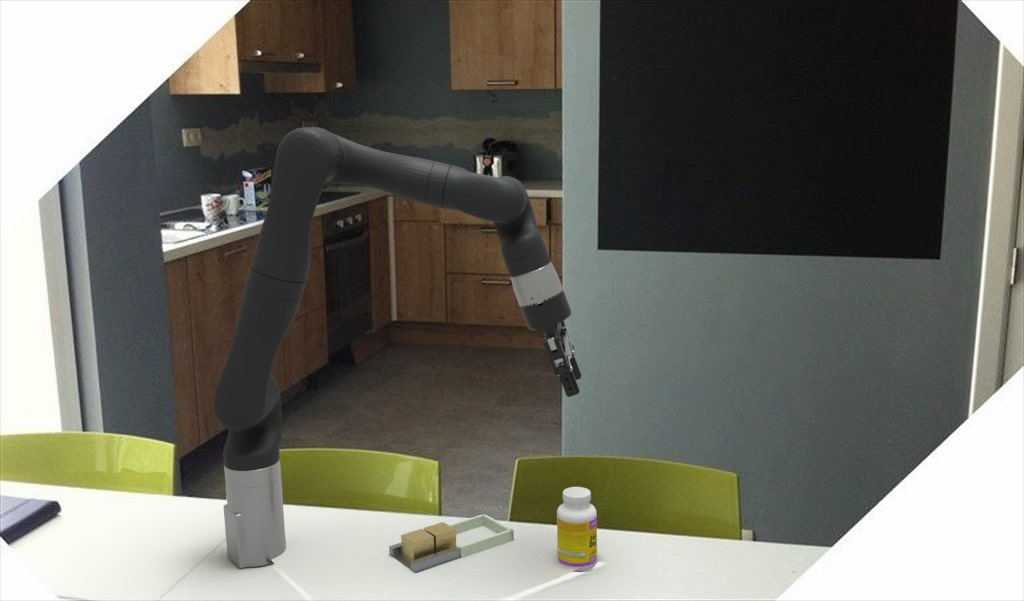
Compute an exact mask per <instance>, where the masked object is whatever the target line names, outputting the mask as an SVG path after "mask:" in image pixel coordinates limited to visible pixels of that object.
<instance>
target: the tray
mask: <svg viewBox="0 0 1024 601" xmlns="http://www.w3.org/2000/svg"><path fill="white" fill-rule="evenodd" d="M448 525H449V526H451V527H452V528H454V529H456V535H458V534H461V533H463V532H466V531H470V530H473V529H476V528H479V527H482V526H485V528H488V529H490V530H492V531H493V532H495V533H496V534H495V533H494V534H492V535H489V536H485V537H483V538H479V539H478V540H474V541H470V542H467V543H465V544H462V545H459V546H458V547H459V548H460V555H461V557H462V558H466V557H469V556H471V555H474V554H477V553H479V552H481V551H486V550H488V549H491V548H494V547H496V546H500V545H503V544H506V543H509V542H511V541H515V539H514V538H515V536H514V531H515V530H514V529H512V528H511V527H508V526H507V525H505V524H503V523H502V522H500V521H499V520H496V519H495V518H493V517H491V516H489V515H487V514H485V513H482V514H480V515H477V516H473V517H470V518H467V519H463V520H461V521H457V522H454V523H450V524H448Z"/></svg>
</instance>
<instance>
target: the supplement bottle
mask: <svg viewBox="0 0 1024 601" xmlns="http://www.w3.org/2000/svg"><path fill="white" fill-rule="evenodd" d="M591 500H592V493H591V490H590V489H589V488H586V487H581V486H570V487H567V488H565V489H563V491H562V501H563V502H562V504H560V505H559V506H558V507H557V510H556V538H557V539H556V541H557V542H556V543H557V545H556V547H557V548H556V551H557V553H556V556H557V561H558V564H561V565H562V566H564V567H567V568H572V569H575V570H574V572H575V573H578V572H579V573H580V572H586V571H590V570H591V569H593V568H594V567H596V565H597V560H598V538H597V537H598V536H597V535H598V534H597V533H598V532H597V531H598V528H597V527H598V526H597V525H598V522H597V521H598V515H597V514H598V513H597V512H598V511H597V509H596V507H595V506H594V505H593V504H592V503H590V502H591Z"/></svg>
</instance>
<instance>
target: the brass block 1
mask: <svg viewBox="0 0 1024 601" xmlns="http://www.w3.org/2000/svg"><path fill="white" fill-rule="evenodd" d="M400 538H401V540H400V541H401V542H400V543H402V557H403V558H404V559H406V560H407V561H408V562H410V563H411V561H413V560H416V559H419V558H422V557H425V556H428V555H431V554H434V536H432V535H431V534H429V533H427V532H426V531H424V529H423V528H419V529H416V530H413V531H410V532H407V533H406V532H405V533H403V534H401V535H400Z"/></svg>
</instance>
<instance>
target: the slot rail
mask: <svg viewBox="0 0 1024 601" xmlns="http://www.w3.org/2000/svg"><path fill="white" fill-rule="evenodd" d="M388 548H389V549H388V550H389V553H388V555H389V556H390V557H392V558H394V559H395V560H396V561H398V562H399V563H400V564H402V565H403V566H404V567H406V568H407V569H408V570H410V571H411V572H413V573H414V574H418V573H421V572H425V571H427V570H430V569H432V568H436V567H439V566H442V565H445V564H448V563H450V562H453V561H455V560H459V559H462V558H463V557H461V555H460V548H459V546H457V545H456V546H455V547H452V548H449V549H446V550H443V551H440V552H437V553H434V554H431V555H428V556H425V557H422V558H419V559H416V560H413V561H411V563H410V562H408V561H407V560H406V559H404V558H403V557H402V543H401V542H399V543H395V544H391V545H389V546H388Z"/></svg>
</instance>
